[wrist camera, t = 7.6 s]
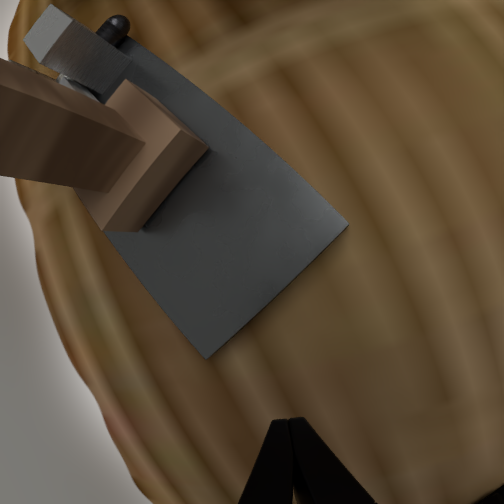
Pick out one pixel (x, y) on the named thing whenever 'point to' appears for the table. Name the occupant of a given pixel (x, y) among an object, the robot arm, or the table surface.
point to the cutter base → (199, 192)
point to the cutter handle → (94, 144)
